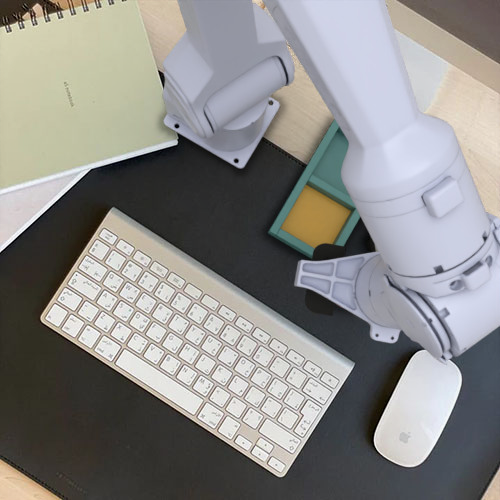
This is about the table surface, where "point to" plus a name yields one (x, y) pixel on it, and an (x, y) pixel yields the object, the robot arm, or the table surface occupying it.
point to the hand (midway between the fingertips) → (365, 289)
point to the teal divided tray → (319, 200)
